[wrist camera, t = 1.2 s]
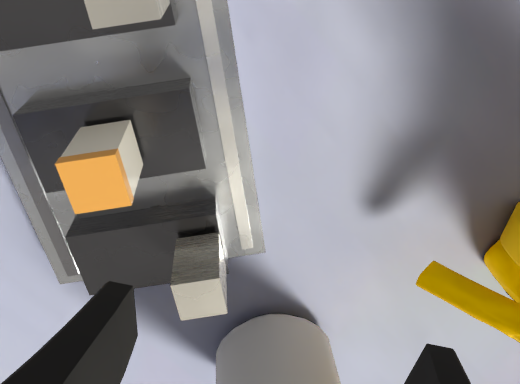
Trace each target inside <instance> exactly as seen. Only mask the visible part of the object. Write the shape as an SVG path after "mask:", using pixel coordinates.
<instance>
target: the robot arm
mask: <svg viewBox="0 0 520 384" xmlns="http://www.w3.org/2000/svg"><path fill="white" fill-rule="evenodd" d="M137 336H138V333H137V322H136V311H135V300H134V289H133V286H132V285H127V284H122V283H117V282H112V281H109V282H107V283H105V284H104V285H103V286H102V288H101V289H100V290H99V291H98V292H97V293H96V294H95V295H94V296H93V297H92V298H91V299H90V300H89V301H88V302H87V303H86V304H85V306H84V307H83V308H82V309H81V310H80V311H79V312H78V313H77V314H76V315H75V316H74V317H73V318H72V319H71V320H70V321H69V322H68V323H67V324H66V325H65V326H64V327H63V328H62V329H61V330H60V331H59V332H58V333H56V334H55V335H54V336H53V337H52V338H51V339H50V340H49V341H48V342H47V343H46V344H45V345H44V346H43V347H42V348H41V349H40V350H39V351H38V352H36V353H35V354H34V355H33V356H32V357H31V358H30V359H29V360H28V361H26V362H25V363H24V364H23V365H22V366H21V367H20V368H18V369H17V370H16V371H15V372H14V373H13V374H12V375H10V376H9V377H8V378H7V379H6V380H5V381H4V382H2V383H1V384H120V382H121V380H122V378H123V376H124V373H125V371H126V368H127V365H128V362H129V359H130V357H131V354H132V351H133V348H134V345H135V342H136V339H137ZM404 384H471V383H470V381H469V379H468V377H467V375H466V373H465V371H464V369H463V367H462V365H461V363H460V361H459V359H458V357H457V355H456V353H455V351H454V350H453V349H451V348H446V347H441V346H436V345H431V344H426V346H425V348H424V349H423V351H422V353H421V355H420V357H419V358H418V360H417V362H416V364H415V365H414V367H413V369H412V371H411V372H410V374H409V376H408V378H407V379H406V381H405V383H404Z"/></svg>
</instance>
